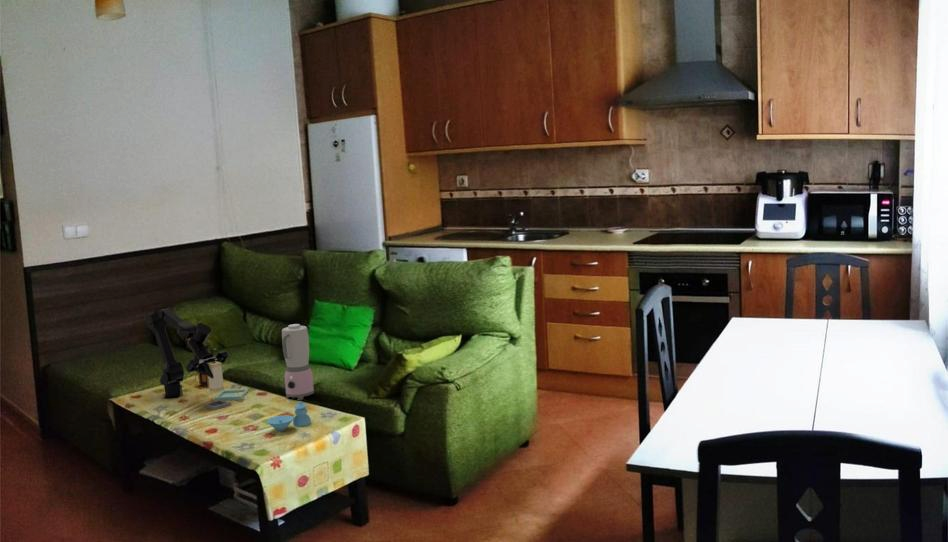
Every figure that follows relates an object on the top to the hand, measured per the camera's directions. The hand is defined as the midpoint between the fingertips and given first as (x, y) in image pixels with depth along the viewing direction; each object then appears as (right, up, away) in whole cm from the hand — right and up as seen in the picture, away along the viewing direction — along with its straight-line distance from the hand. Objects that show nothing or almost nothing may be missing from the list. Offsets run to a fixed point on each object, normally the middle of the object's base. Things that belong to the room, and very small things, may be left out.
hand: (217, 376), depth 350 cm
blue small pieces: (+38, -16, -31) cm, 52 cm away
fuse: (-1, -6, +2) cm, 6 cm away
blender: (+33, -11, +10) cm, 36 cm away
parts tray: (+2, -11, +16) cm, 20 cm away
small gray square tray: (-1, -13, +2) cm, 13 cm away
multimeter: (-15, -9, +41) cm, 45 cm away
